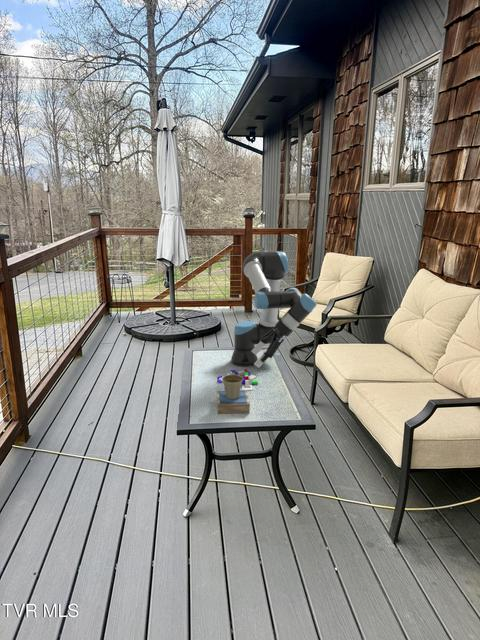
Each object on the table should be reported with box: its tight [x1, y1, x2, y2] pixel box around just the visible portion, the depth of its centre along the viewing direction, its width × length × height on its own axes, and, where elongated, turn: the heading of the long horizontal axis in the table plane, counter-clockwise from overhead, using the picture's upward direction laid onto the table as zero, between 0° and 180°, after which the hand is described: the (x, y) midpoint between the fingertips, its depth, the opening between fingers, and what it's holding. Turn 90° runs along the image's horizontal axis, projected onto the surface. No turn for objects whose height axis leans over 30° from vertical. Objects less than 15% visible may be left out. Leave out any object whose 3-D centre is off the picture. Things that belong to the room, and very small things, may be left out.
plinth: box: [216, 389, 251, 415], centre depth 192 cm, size 14×14×5 cm
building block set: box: [216, 368, 259, 392], centre depth 220 cm, size 25×20×4 cm
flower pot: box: [222, 374, 244, 399], centre depth 190 cm, size 9×9×9 cm
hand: (254, 359), depth 189 cm, fingers open, 13 cm apart
